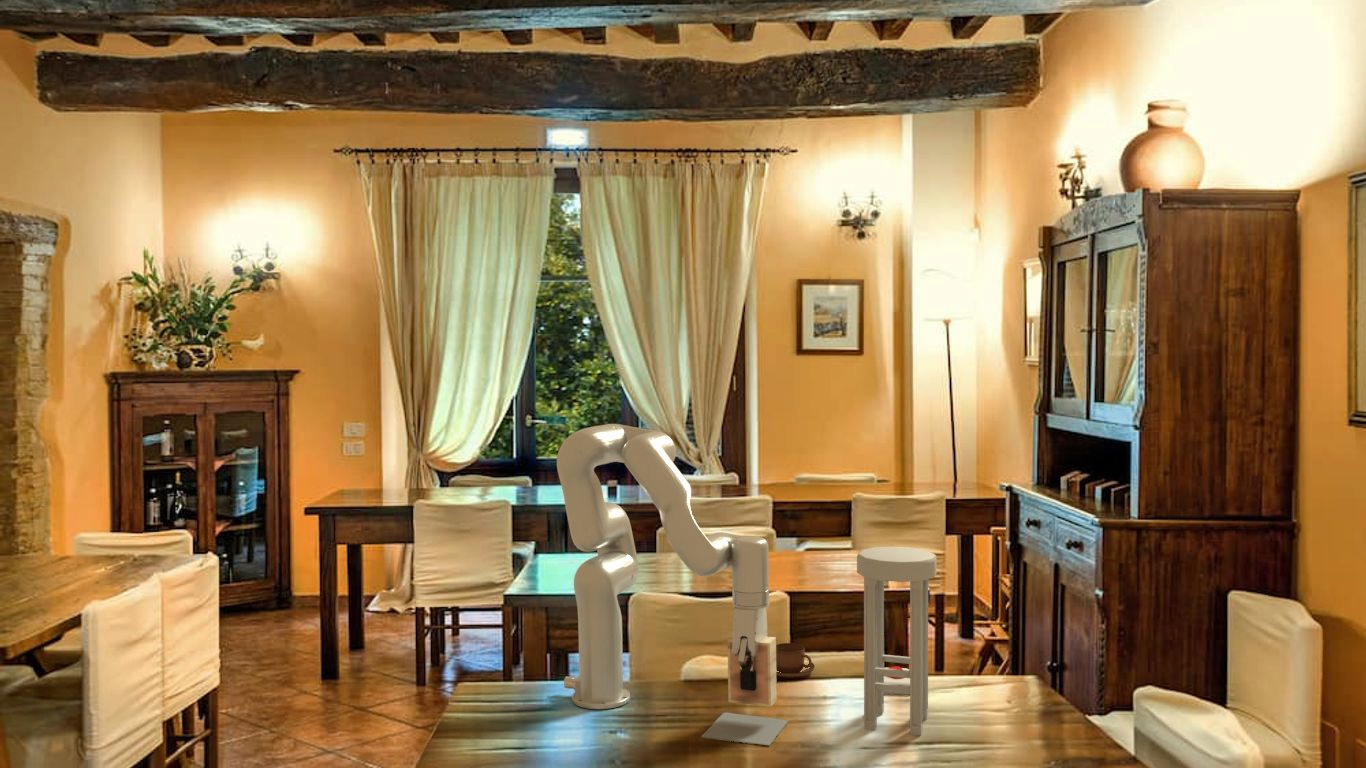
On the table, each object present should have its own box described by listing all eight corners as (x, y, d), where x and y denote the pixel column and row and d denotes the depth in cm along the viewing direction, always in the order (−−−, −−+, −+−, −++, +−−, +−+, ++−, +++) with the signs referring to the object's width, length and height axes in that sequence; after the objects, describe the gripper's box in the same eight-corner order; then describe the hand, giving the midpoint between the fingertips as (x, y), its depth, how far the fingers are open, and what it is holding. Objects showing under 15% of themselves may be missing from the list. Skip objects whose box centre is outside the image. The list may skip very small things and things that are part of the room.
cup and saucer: (819, 668, 257) (819, 642, 256) (808, 683, 245) (808, 657, 245) (770, 663, 260) (770, 638, 260) (757, 678, 249) (757, 652, 249)
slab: (728, 702, 220) (727, 639, 219) (735, 695, 224) (734, 633, 224) (770, 706, 217) (769, 643, 216) (776, 699, 221) (775, 637, 220)
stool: (865, 705, 230) (865, 544, 228) (939, 713, 225) (939, 548, 223) (851, 731, 216) (851, 558, 214) (930, 740, 210) (930, 563, 209)
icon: (867, 659, 250) (911, 660, 248) (867, 677, 250) (911, 679, 248) (868, 676, 237) (915, 677, 236) (868, 695, 238) (914, 697, 236)
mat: (701, 737, 213) (701, 736, 213) (723, 713, 226) (723, 712, 226) (769, 746, 208) (769, 745, 208) (788, 721, 221) (788, 720, 221)
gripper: (745, 587, 229) (746, 671, 230) (720, 606, 213) (721, 697, 214) (779, 589, 226) (780, 675, 227) (756, 609, 210) (757, 701, 211)
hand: (752, 684), depth 220 cm, fingers closed on slab, 4 cm apart
